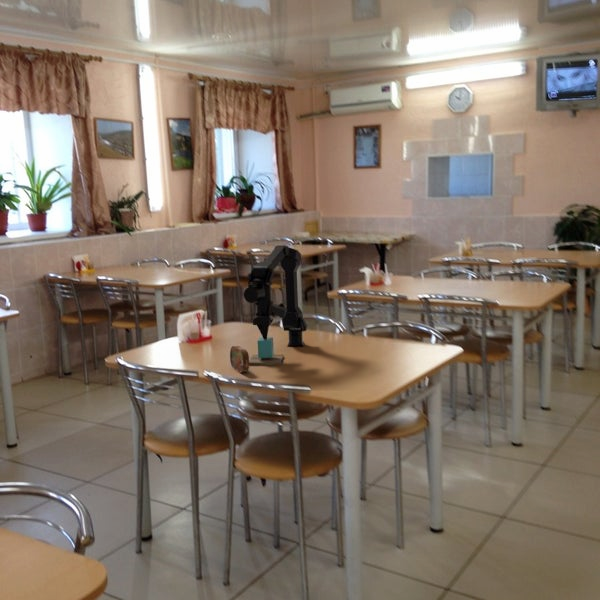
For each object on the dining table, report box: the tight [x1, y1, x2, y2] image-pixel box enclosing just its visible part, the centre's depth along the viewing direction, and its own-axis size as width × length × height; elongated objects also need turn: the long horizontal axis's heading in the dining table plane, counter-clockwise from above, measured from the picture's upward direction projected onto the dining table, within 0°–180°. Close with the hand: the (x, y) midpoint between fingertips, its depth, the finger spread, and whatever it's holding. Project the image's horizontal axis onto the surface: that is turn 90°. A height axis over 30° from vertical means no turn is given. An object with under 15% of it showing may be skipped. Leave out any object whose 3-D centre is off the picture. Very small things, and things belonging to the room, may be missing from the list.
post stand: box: [249, 354, 285, 366], centre depth 265 cm, size 12×12×8 cm
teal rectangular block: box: [257, 337, 275, 358], centre depth 265 cm, size 5×5×7 cm
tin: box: [229, 345, 250, 374], centre depth 254 cm, size 15×3×8 cm, turn 23°
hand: (265, 339), depth 264 cm, fingers closed, pressing on teal rectangular block
